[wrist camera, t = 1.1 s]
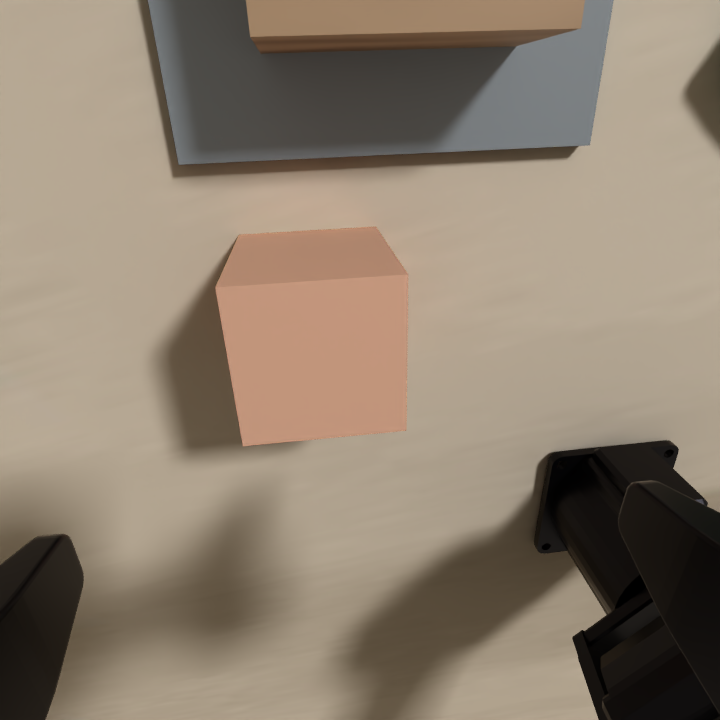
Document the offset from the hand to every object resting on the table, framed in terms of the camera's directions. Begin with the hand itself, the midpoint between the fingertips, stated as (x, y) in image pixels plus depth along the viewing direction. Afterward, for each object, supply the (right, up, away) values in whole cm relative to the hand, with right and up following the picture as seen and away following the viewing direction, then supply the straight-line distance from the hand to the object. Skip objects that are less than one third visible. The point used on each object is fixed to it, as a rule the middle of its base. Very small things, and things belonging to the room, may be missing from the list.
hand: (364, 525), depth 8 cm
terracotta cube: (-2, +5, +11) cm, 13 cm away
